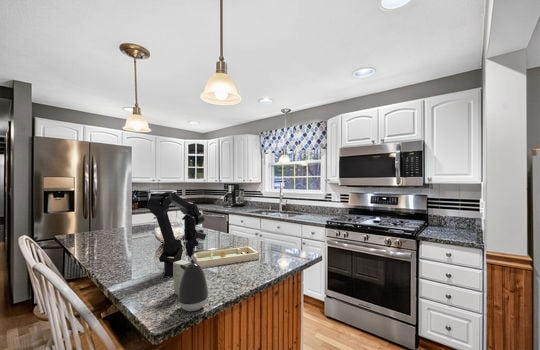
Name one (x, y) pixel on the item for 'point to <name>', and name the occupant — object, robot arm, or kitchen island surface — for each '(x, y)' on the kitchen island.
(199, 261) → the tray
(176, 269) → the skincare box
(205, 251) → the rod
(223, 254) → the ball
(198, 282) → the pump dispenser
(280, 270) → the kitchen island surface
